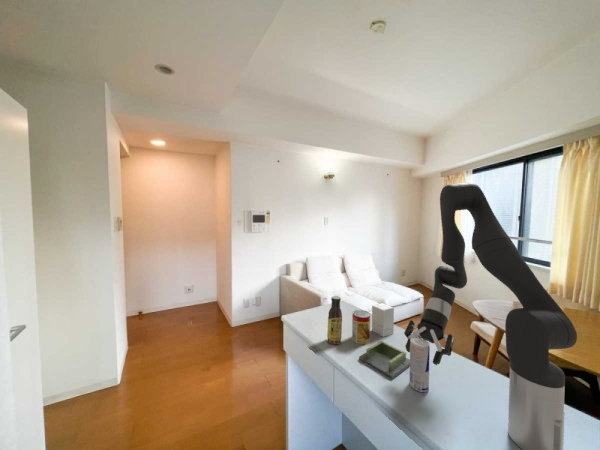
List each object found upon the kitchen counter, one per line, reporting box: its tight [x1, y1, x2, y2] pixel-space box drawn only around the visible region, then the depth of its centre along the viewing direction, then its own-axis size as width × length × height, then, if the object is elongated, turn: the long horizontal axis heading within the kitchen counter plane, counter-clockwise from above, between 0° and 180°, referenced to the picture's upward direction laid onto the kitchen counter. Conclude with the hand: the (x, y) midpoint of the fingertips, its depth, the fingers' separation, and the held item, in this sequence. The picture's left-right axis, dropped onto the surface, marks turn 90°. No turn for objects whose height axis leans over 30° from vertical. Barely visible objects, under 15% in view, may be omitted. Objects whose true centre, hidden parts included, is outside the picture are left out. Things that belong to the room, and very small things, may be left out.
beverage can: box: [409, 338, 431, 393], centre depth 74 cm, size 6×6×15 cm
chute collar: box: [358, 340, 410, 380], centre depth 87 cm, size 14×14×4 cm
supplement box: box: [371, 302, 395, 338], centre depth 111 cm, size 7×7×13 cm
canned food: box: [351, 309, 371, 345], centre depth 104 cm, size 8×8×12 cm
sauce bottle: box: [326, 295, 343, 345], centre depth 102 cm, size 6×6×20 cm
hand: (420, 357), depth 75 cm, fingers open, 8 cm apart
